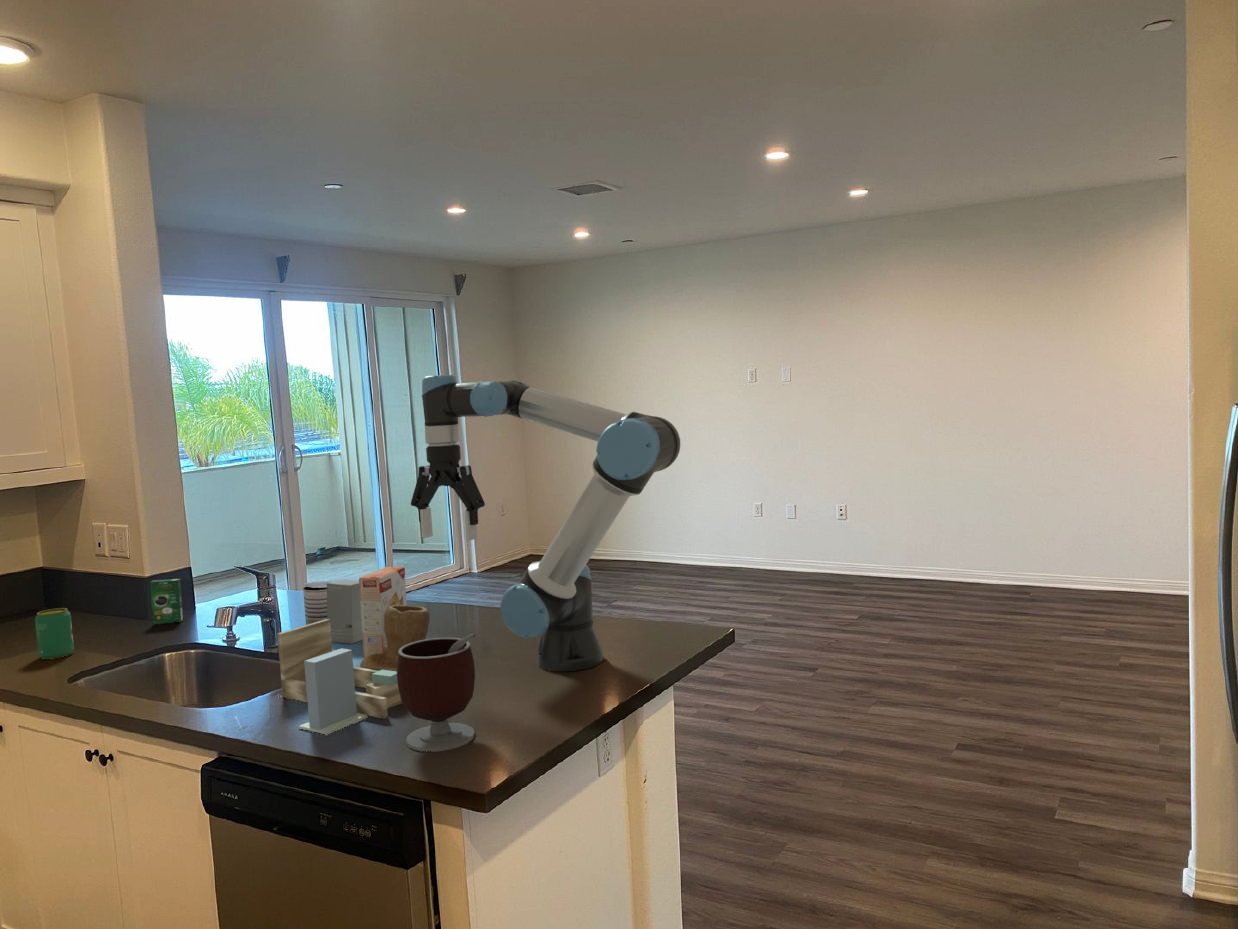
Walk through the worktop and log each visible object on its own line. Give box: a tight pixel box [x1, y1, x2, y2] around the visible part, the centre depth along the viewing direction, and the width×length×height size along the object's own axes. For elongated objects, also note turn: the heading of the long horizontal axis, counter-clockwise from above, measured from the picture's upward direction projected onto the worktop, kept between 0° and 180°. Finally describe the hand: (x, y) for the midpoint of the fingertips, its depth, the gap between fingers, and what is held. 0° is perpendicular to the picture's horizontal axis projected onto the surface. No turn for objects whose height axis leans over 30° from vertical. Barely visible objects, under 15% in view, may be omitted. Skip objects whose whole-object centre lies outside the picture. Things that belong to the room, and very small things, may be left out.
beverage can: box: [34, 607, 75, 659], centre depth 238 cm, size 8×8×12 cm
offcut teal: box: [372, 670, 397, 686], centre depth 185 cm, size 3×5×2 cm, turn 62°
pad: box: [298, 713, 369, 736], centre depth 176 cm, size 8×10×1 cm
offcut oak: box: [386, 694, 403, 709], centre depth 186 cm, size 5×9×2 cm, turn 146°
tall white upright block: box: [304, 648, 357, 729], centre depth 175 cm, size 3×9×13 cm, turn 148°
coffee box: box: [149, 578, 184, 626], centre depth 269 cm, size 8×3×13 cm, turn 103°
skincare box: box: [327, 578, 363, 645], centre depth 238 cm, size 8×7×16 cm
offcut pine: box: [365, 683, 400, 698], centre depth 186 cm, size 4×7×2 cm, turn 133°
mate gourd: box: [397, 633, 476, 753], centre depth 164 cm, size 16×14×20 cm
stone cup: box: [359, 604, 431, 671], centre depth 209 cm, size 15×12×15 cm
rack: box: [276, 619, 389, 719], centre depth 190 cm, size 31×13×14 cm, turn 58°
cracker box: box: [358, 566, 408, 660], centre depth 221 cm, size 14×6×21 cm, turn 168°
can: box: [302, 580, 333, 625], centre depth 258 cm, size 11×11×12 cm
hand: (449, 538), depth 203 cm, fingers open, 13 cm apart
